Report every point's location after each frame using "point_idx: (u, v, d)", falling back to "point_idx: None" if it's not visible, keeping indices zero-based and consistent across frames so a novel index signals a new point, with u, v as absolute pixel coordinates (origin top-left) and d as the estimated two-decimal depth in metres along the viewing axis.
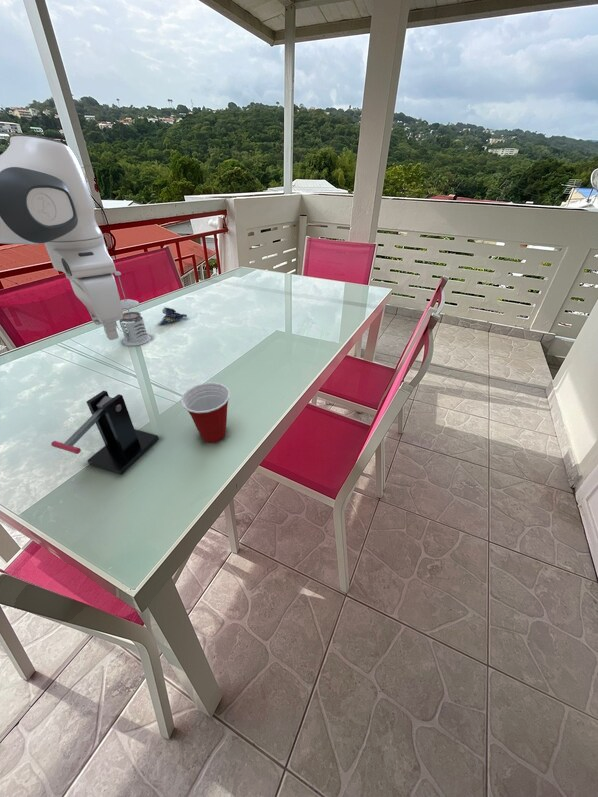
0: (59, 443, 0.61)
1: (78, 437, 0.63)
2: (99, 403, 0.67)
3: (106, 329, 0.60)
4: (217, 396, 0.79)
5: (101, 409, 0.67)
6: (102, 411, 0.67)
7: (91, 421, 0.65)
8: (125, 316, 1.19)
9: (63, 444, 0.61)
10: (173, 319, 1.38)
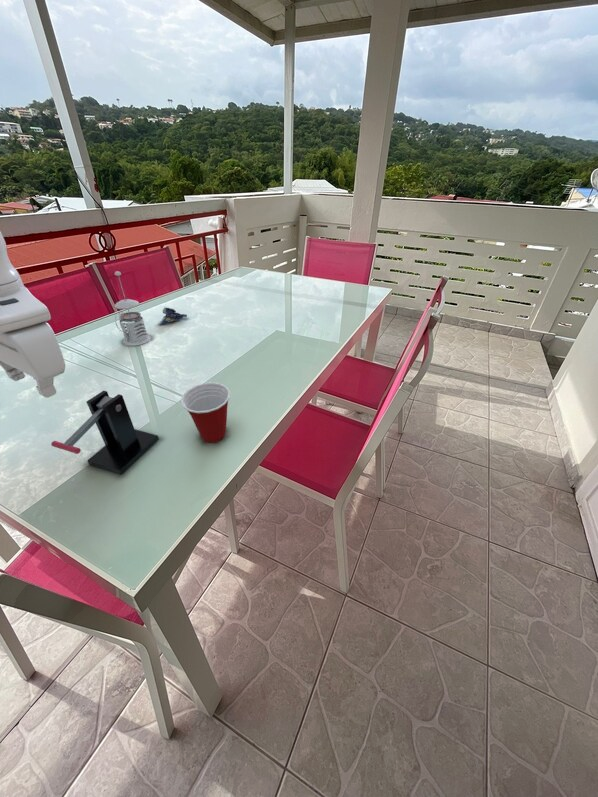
0: (59, 443, 0.61)
1: (78, 437, 0.63)
2: (99, 403, 0.67)
3: (41, 386, 0.50)
4: (217, 396, 0.79)
5: (101, 409, 0.67)
6: (102, 411, 0.67)
7: (91, 421, 0.65)
8: (125, 316, 1.19)
9: (63, 444, 0.61)
10: (173, 319, 1.38)
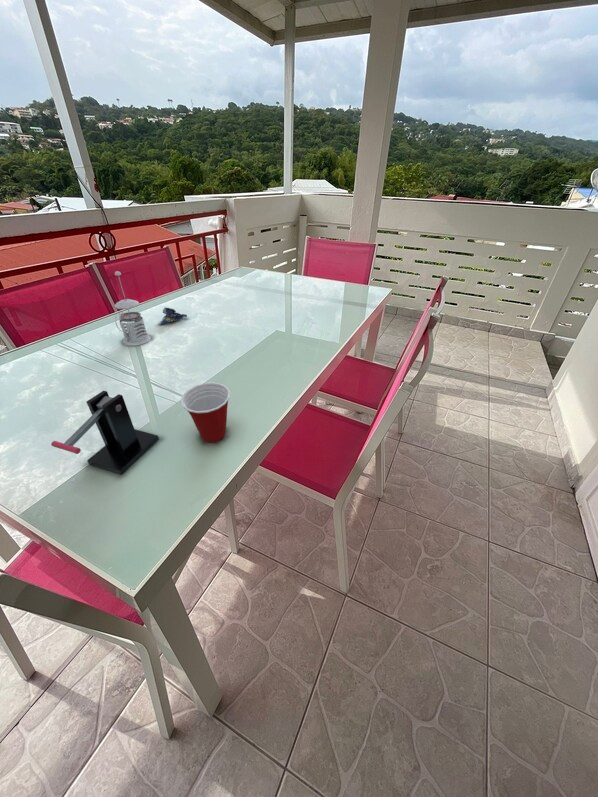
0: (59, 443, 0.61)
1: (78, 437, 0.63)
2: (99, 403, 0.67)
3: None
4: (217, 396, 0.79)
5: (101, 409, 0.67)
6: (102, 411, 0.67)
7: (91, 421, 0.65)
8: (125, 316, 1.19)
9: (63, 444, 0.61)
10: (173, 319, 1.38)
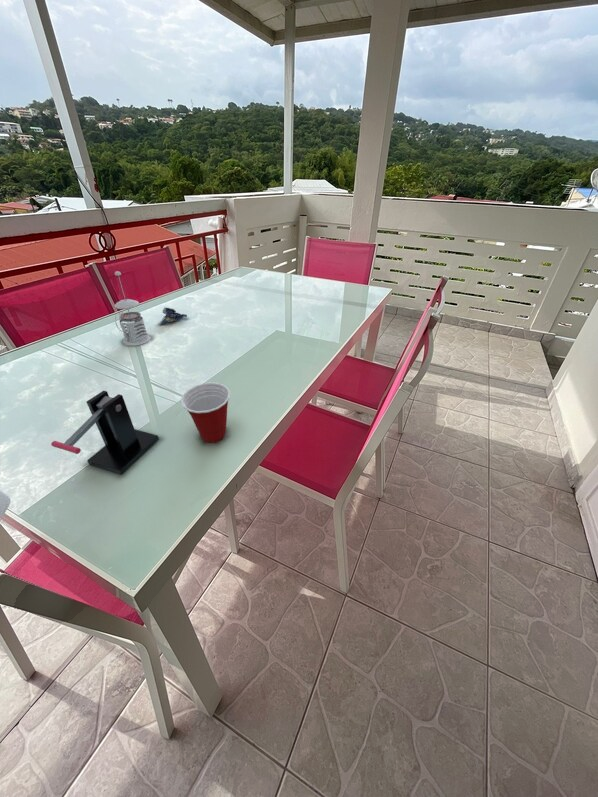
0: (59, 443, 0.61)
1: (78, 437, 0.63)
2: (99, 403, 0.67)
3: None
4: (217, 396, 0.79)
5: (101, 409, 0.67)
6: (102, 411, 0.67)
7: (91, 421, 0.65)
8: (125, 316, 1.19)
9: (63, 444, 0.61)
10: (173, 319, 1.38)
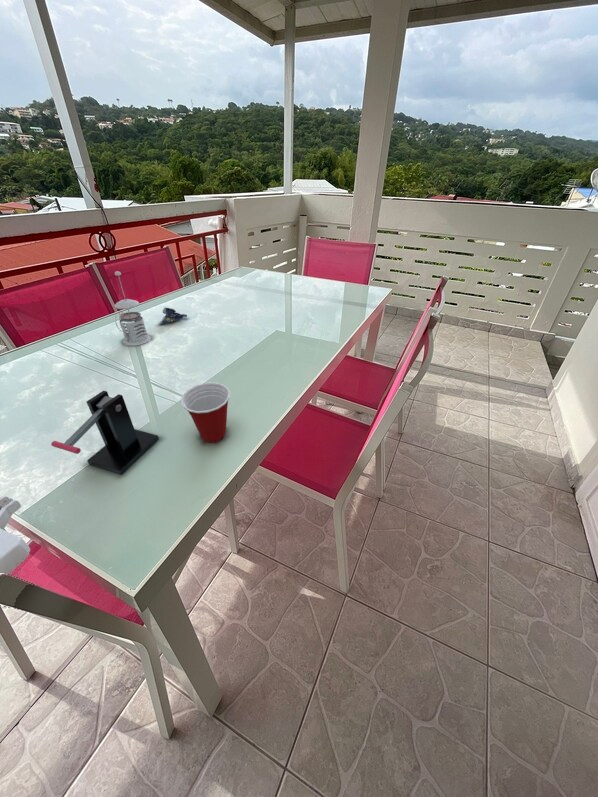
0: (59, 443, 0.61)
1: (78, 437, 0.63)
2: (99, 403, 0.67)
3: None
4: (217, 396, 0.79)
5: (101, 409, 0.67)
6: (102, 411, 0.67)
7: (91, 421, 0.65)
8: (125, 316, 1.19)
9: (63, 444, 0.61)
10: (173, 319, 1.38)
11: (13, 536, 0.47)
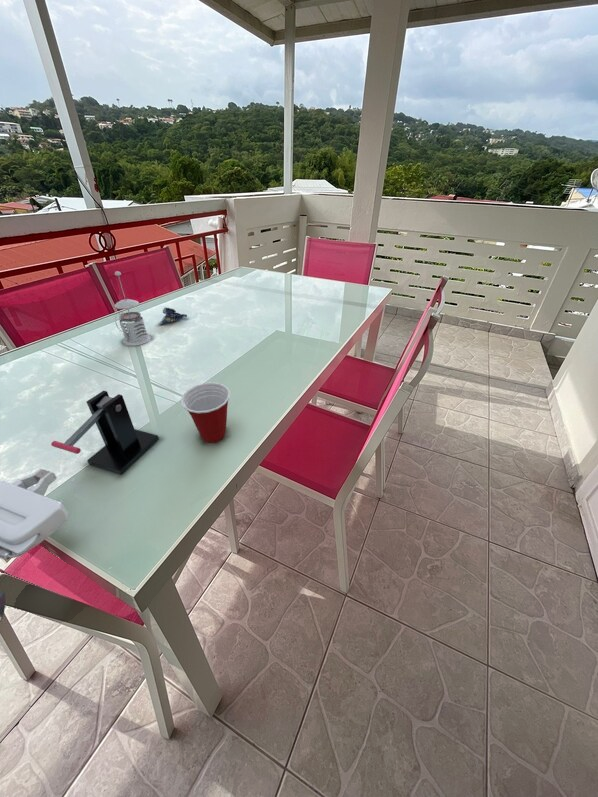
0: (59, 443, 0.61)
1: (78, 437, 0.63)
2: (99, 403, 0.67)
3: None
4: (217, 396, 0.79)
5: (101, 409, 0.67)
6: (102, 411, 0.67)
7: (91, 421, 0.65)
8: (125, 316, 1.19)
9: (63, 444, 0.61)
10: (173, 319, 1.38)
11: (54, 501, 0.52)
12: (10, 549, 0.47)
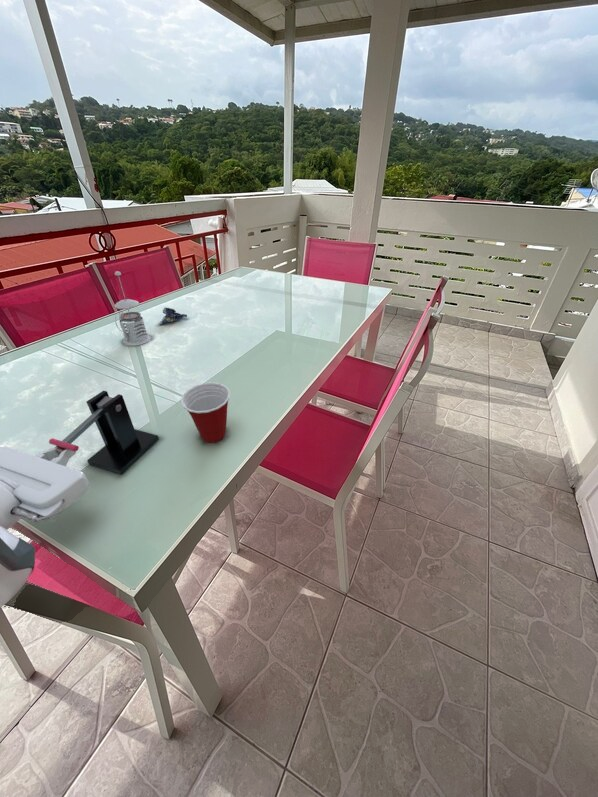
0: (57, 441, 0.61)
1: (76, 435, 0.62)
2: (99, 403, 0.67)
3: (48, 450, 0.60)
4: (217, 396, 0.79)
5: (101, 409, 0.67)
6: (102, 411, 0.67)
7: (91, 420, 0.65)
8: (125, 316, 1.19)
9: (61, 441, 0.61)
10: (173, 319, 1.38)
11: (76, 471, 0.55)
12: (37, 512, 0.50)
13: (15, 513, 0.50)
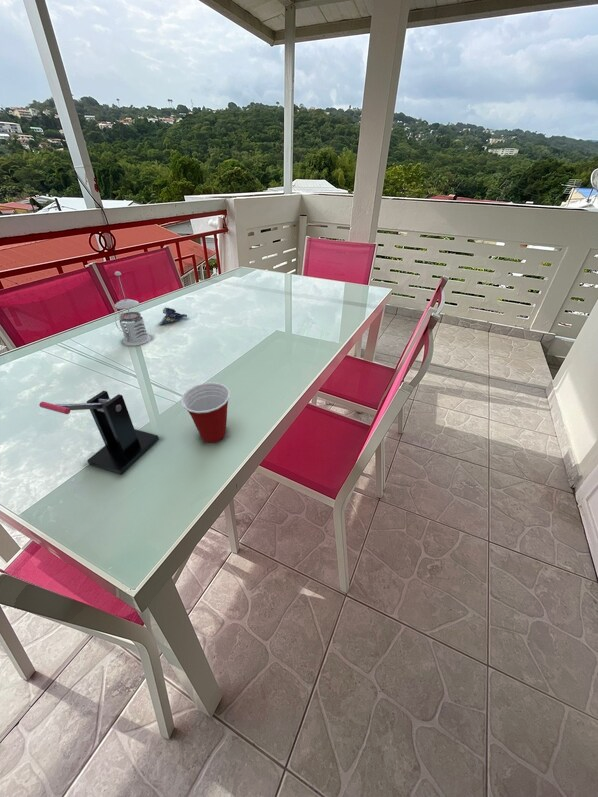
0: (50, 403, 0.58)
1: (70, 407, 0.60)
2: (102, 399, 0.68)
3: None
4: (217, 396, 0.79)
5: (101, 403, 0.67)
6: (101, 405, 0.66)
7: (89, 404, 0.64)
8: (125, 316, 1.19)
9: (54, 404, 0.58)
10: (173, 319, 1.38)
11: None
12: None
13: None
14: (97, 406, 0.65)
